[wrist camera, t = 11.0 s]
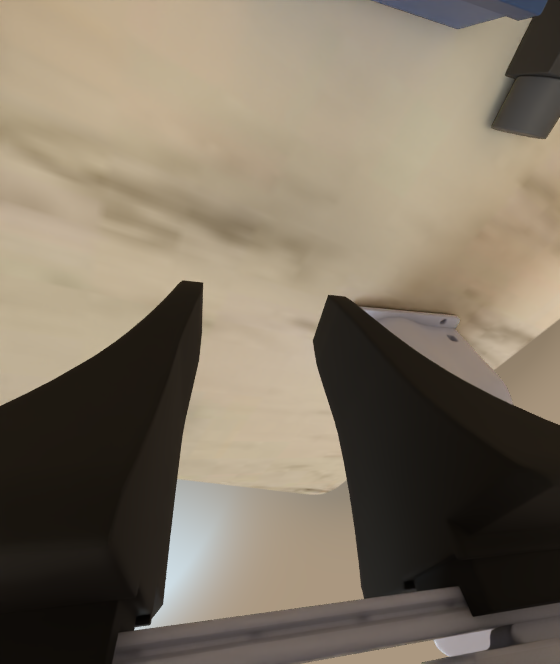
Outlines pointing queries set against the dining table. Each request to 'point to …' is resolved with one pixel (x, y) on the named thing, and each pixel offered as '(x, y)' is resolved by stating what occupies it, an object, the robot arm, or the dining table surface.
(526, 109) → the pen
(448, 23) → the blue box
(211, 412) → the dining table surface
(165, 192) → the dining table surface
